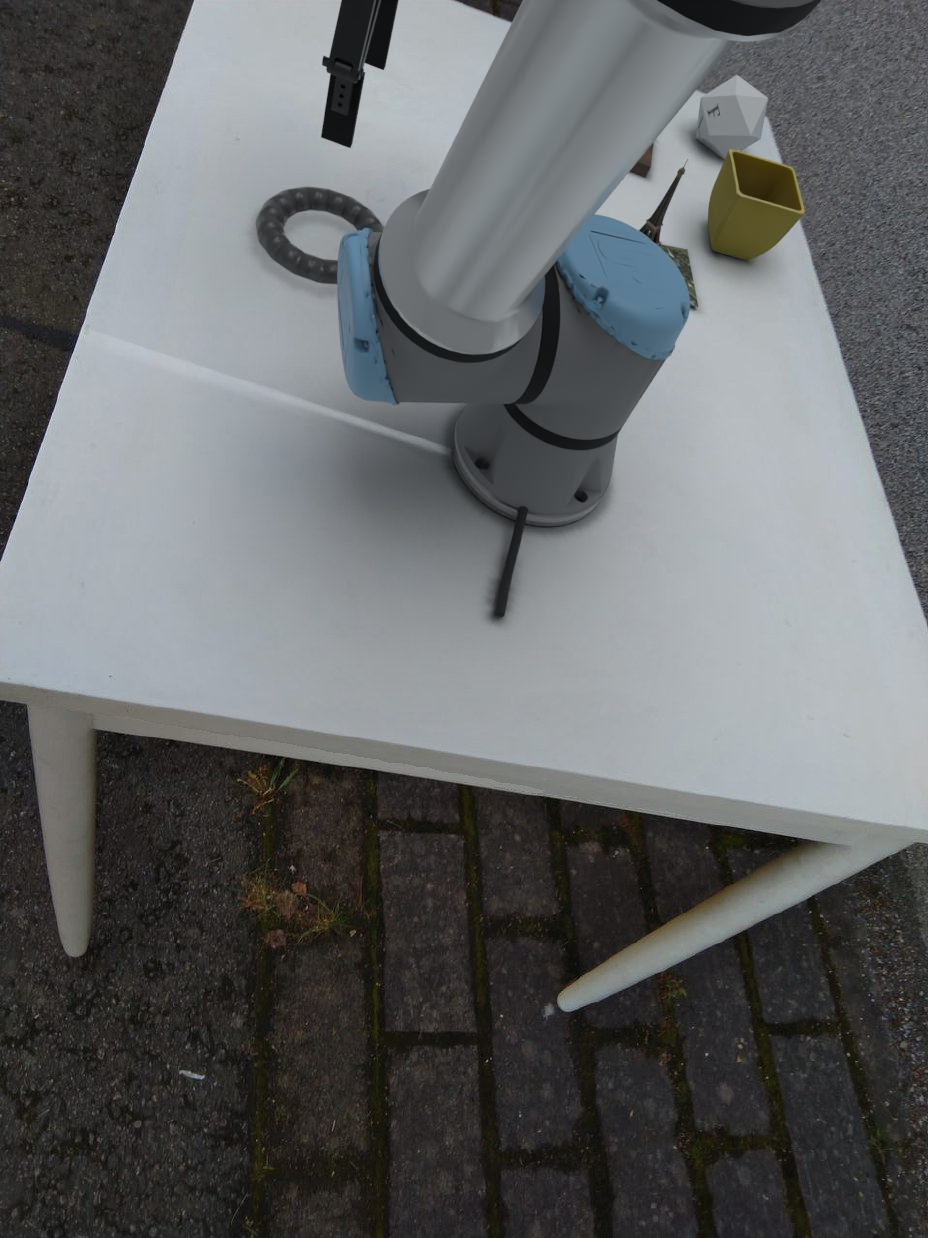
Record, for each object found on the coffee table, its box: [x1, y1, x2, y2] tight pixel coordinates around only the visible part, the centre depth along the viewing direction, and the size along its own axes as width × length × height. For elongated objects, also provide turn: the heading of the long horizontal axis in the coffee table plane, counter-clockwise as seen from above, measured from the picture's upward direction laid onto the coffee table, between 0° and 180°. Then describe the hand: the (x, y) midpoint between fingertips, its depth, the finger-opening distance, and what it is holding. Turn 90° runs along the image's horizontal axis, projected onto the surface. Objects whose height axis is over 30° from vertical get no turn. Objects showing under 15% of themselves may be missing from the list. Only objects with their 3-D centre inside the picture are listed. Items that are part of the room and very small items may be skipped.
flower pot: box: [707, 149, 805, 261], centre depth 108 cm, size 9×9×9 cm
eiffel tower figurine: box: [638, 158, 699, 308], centre depth 98 cm, size 15×10×13 cm
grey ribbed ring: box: [255, 186, 385, 285], centre depth 90 cm, size 13×13×3 cm
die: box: [695, 74, 769, 161], centre depth 119 cm, size 8×9×10 cm
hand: (354, 100), depth 84 cm, fingers open, 13 cm apart
